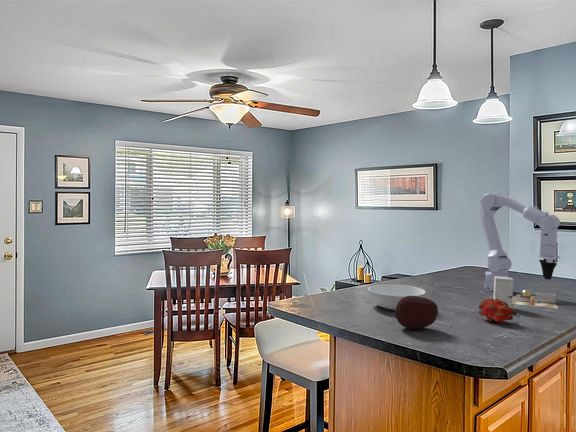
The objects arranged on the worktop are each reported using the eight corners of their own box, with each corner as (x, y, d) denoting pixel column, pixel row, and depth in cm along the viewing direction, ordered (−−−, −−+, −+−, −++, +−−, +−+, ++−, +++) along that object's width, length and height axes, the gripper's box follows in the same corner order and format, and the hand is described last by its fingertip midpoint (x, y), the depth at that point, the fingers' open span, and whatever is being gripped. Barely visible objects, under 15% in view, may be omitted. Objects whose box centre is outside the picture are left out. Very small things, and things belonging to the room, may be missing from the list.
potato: (443, 334, 133) (444, 299, 133) (400, 334, 132) (401, 299, 132) (429, 323, 144) (430, 292, 144) (389, 324, 143) (390, 292, 143)
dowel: (530, 305, 170) (530, 297, 170) (530, 304, 171) (530, 296, 171) (534, 305, 170) (535, 297, 169) (534, 304, 171) (534, 297, 171)
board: (507, 305, 172) (507, 303, 172) (506, 297, 187) (506, 295, 187) (558, 310, 165) (558, 308, 165) (553, 302, 180) (553, 300, 180)
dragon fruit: (475, 321, 154) (513, 334, 146) (472, 311, 148) (510, 323, 140) (484, 300, 157) (521, 311, 149) (480, 289, 151) (518, 300, 143)
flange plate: (517, 300, 177) (517, 292, 177) (516, 297, 183) (516, 289, 183) (556, 304, 171) (556, 296, 171) (554, 300, 177) (554, 292, 177)
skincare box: (494, 310, 164) (495, 277, 163) (492, 307, 168) (493, 276, 168) (512, 312, 162) (513, 279, 162) (510, 309, 166) (511, 277, 166)
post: (522, 300, 178) (522, 290, 178) (522, 299, 180) (522, 289, 180) (530, 301, 177) (531, 291, 176) (530, 299, 179) (530, 290, 179)
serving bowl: (356, 303, 171) (357, 285, 171) (401, 299, 179) (401, 282, 179) (389, 317, 152) (390, 297, 152) (437, 312, 160) (438, 293, 160)
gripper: (562, 247, 172) (560, 282, 173) (557, 244, 185) (556, 276, 186) (541, 246, 175) (540, 280, 176) (538, 243, 188) (536, 274, 189)
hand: (547, 278), depth 181 cm, fingers open, 5 cm apart
